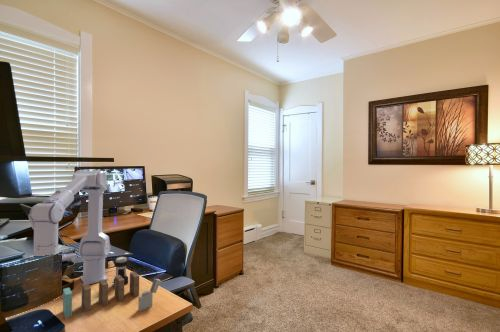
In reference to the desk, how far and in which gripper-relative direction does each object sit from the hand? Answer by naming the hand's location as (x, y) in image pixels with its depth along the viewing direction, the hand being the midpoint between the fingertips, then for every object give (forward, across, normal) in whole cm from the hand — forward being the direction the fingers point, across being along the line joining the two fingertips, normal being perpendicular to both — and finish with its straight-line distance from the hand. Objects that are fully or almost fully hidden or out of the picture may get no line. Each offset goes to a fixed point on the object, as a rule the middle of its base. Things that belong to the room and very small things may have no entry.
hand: (45, 290), depth 78 cm
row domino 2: (+9, +16, 0) cm, 18 cm away
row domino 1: (+9, +10, 0) cm, 14 cm away
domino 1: (+9, +6, 0) cm, 11 cm away
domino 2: (+9, +26, 0) cm, 27 cm away
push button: (+9, +24, +11) cm, 27 cm away
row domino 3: (+9, +20, 0) cm, 22 cm away
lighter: (+9, +26, -12) cm, 30 cm away
